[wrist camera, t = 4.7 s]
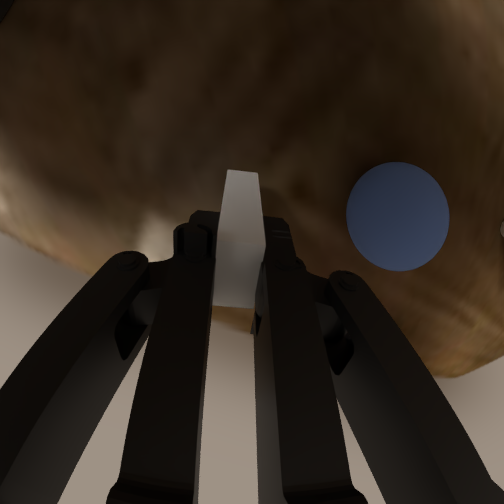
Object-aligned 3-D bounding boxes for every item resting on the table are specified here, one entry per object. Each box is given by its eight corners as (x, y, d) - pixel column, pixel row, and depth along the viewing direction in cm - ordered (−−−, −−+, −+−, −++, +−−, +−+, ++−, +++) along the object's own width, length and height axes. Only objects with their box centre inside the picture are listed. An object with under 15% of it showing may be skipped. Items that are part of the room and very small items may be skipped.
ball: (324, 228, 19) (350, 292, 14) (346, 139, 15) (392, 177, 10) (400, 238, 19) (439, 295, 14) (428, 160, 16) (485, 202, 11)
